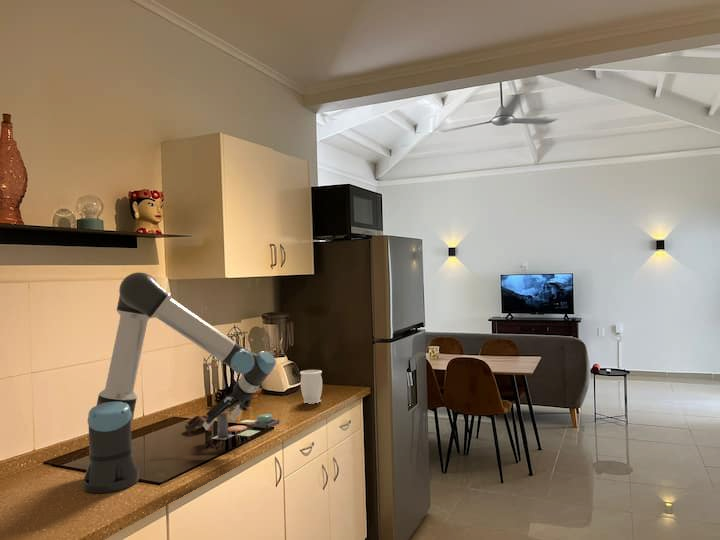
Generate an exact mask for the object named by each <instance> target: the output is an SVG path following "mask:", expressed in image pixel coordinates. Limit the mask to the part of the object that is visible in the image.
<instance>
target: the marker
mask: <svg viewBox="0 0 720 540" xmlns="http://www.w3.org/2000/svg"><path fill="white" fill-rule="evenodd" d="M228 409H229V408H228ZM228 409H227V410H225V411H224V412H223V413H221V414H220V415H219V416H217V417H216V421H217V422H216V423H217V436H218V438H226V437H228V434H229V431H228V428H229V419H228V417H229V415H228V413H229V411H228Z"/></svg>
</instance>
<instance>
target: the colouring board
mask: <svg viewBox="0 0 720 540" xmlns="http://www.w3.org/2000/svg"><path fill="white" fill-rule="evenodd" d="M272 419H273V421H272V422H268V423H258V421H257V420H254V419H253V420H251V419H244V420H242V421H240V423H250V427H252V428H259V429H260V428H263V429H269V428H272V427H274V426H276V425H278V424H280V419H276V418H272ZM247 428H248V427H247V426H246V425H232V426H228V432H239V433H238V434H236V436H243V437H251V436H253V435H255V434H257V433H260V432H261V430H254V429H253V430H252V429H247ZM240 431H241V432H240ZM234 436H235V434H229V433H228V437H226V438H218V435H216V436H213V437H211V439H214V440H223V441H225V440H227V439H230V438H233V437H234Z"/></svg>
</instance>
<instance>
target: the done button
mask: <svg viewBox="0 0 720 540" xmlns="http://www.w3.org/2000/svg"><path fill="white" fill-rule="evenodd" d="M273 419H274V418H273V414H271V413H270V414H269V413H267V414H266V413H265V414H259V415H257V419H256V421H258V423H259V424H269V423H271V422H272V421H273Z"/></svg>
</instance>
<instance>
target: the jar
mask: <svg viewBox="0 0 720 540" xmlns="http://www.w3.org/2000/svg"><path fill="white" fill-rule="evenodd" d="M322 373H323V371H322V370H320V369H306V370H301V371H300V373H299V374H300V375H301V376H300V389H301V394H302V398H303V402H304V403H303V404H305V403H308V404H307V405H315V403H317V404H319V402H320V403H321V402H322V400H321V399H320V398H321V396H322V392H323V378H322Z"/></svg>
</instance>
